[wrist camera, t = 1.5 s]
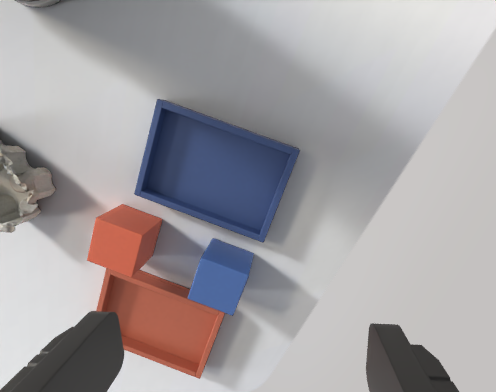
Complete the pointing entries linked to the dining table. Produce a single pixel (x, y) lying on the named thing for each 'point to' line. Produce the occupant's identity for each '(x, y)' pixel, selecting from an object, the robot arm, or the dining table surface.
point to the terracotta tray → (161, 320)
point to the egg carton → (20, 187)
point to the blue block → (221, 276)
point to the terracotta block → (124, 239)
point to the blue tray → (214, 170)
